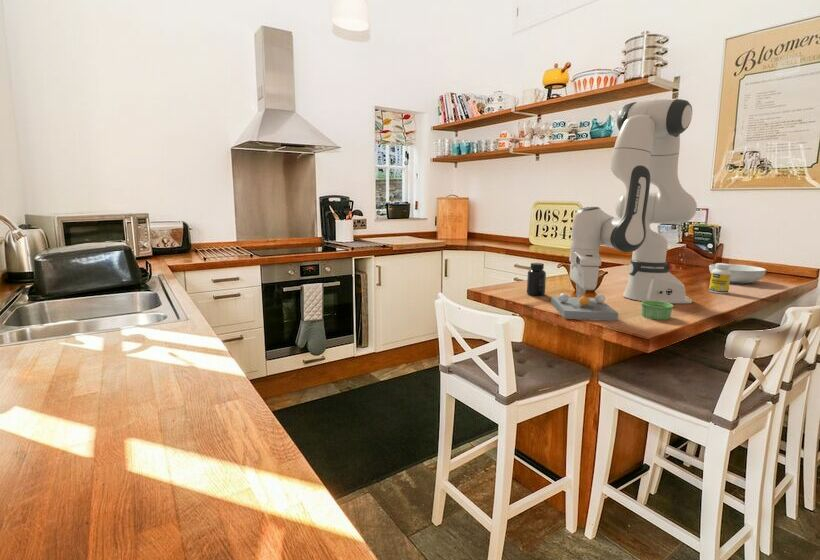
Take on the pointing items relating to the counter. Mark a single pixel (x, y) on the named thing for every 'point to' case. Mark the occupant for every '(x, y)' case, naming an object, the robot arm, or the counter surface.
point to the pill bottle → (720, 279)
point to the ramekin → (656, 310)
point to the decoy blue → (563, 297)
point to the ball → (584, 301)
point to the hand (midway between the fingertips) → (580, 297)
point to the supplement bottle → (536, 280)
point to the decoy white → (599, 298)
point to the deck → (584, 309)
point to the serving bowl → (743, 273)
